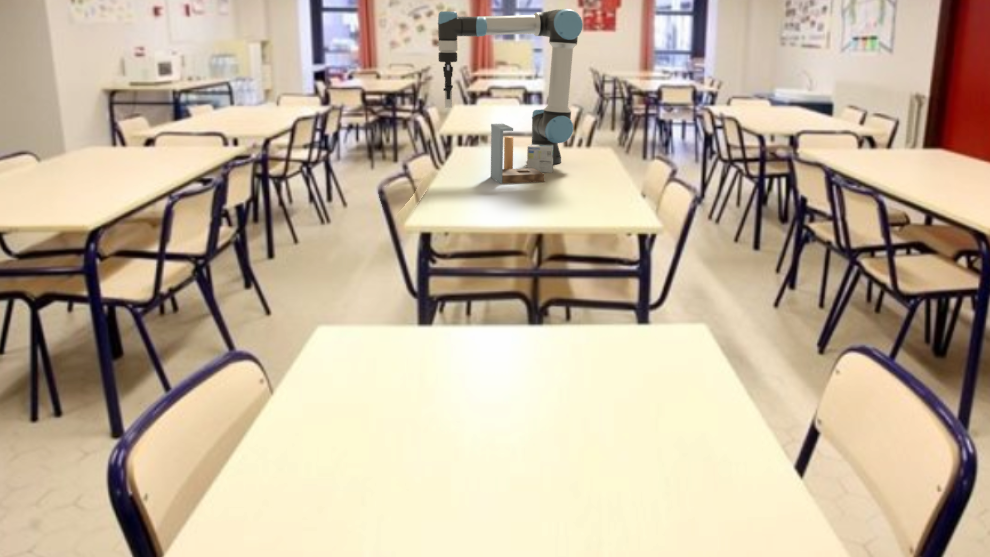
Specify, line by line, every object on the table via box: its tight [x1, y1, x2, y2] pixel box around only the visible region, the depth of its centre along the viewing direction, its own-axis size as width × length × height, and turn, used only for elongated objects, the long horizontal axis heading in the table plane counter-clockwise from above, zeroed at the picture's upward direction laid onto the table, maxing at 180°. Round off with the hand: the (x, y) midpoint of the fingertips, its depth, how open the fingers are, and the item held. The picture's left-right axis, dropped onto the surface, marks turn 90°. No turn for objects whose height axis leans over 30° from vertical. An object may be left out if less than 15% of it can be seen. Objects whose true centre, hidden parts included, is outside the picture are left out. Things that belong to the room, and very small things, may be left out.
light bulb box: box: [526, 144, 554, 174], centre depth 347 cm, size 11×7×11 cm, turn 84°
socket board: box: [501, 167, 545, 184], centre depth 329 cm, size 17×14×3 cm
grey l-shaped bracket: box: [490, 123, 514, 184], centre depth 324 cm, size 5×15×21 cm, turn 14°
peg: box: [503, 136, 514, 169], centre depth 338 cm, size 4×4×15 cm
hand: (448, 105), depth 339 cm, fingers open, 13 cm apart
